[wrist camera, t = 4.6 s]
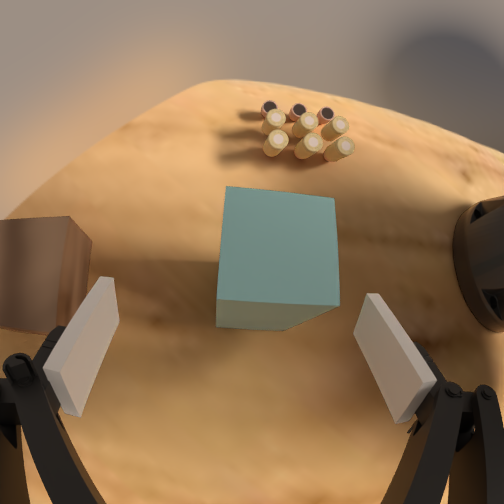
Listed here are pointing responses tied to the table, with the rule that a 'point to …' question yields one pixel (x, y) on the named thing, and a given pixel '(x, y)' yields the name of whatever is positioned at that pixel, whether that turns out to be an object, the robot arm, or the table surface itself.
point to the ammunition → (305, 132)
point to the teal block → (276, 259)
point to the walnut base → (42, 273)
